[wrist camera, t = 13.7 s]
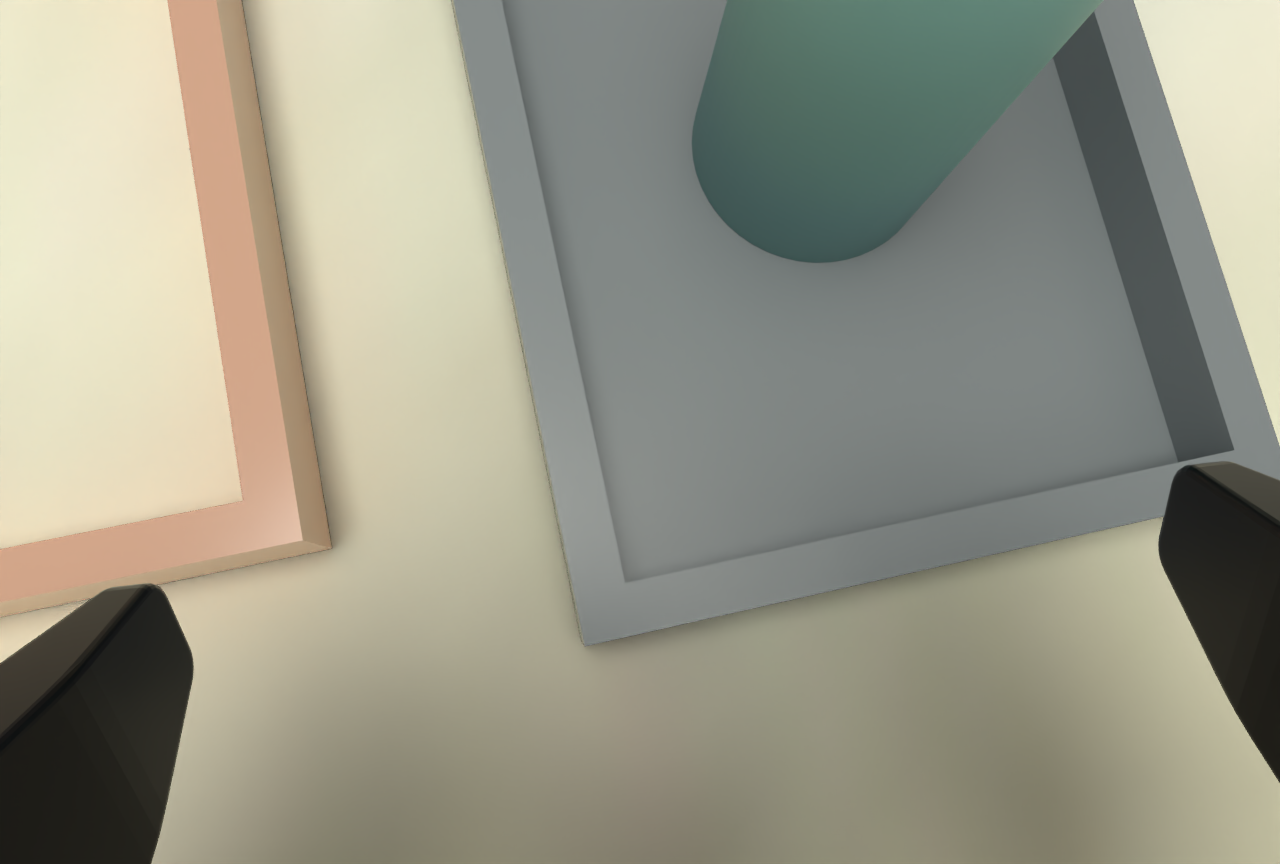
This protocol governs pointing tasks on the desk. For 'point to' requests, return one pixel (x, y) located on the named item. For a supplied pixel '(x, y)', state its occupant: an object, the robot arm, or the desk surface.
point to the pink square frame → (250, 350)
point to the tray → (844, 326)
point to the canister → (857, 109)
